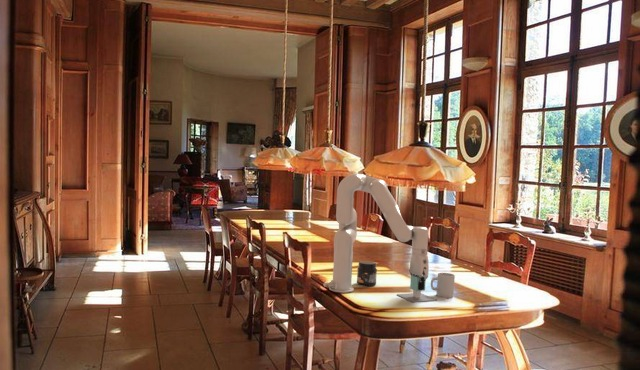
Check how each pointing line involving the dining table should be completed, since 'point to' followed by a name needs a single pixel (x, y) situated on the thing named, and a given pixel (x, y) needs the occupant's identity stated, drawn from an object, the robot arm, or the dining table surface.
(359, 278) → the supplement container
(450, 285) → the mug
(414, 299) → the grey plate with knob
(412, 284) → the teal rectangular block
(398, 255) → the dining table surface
